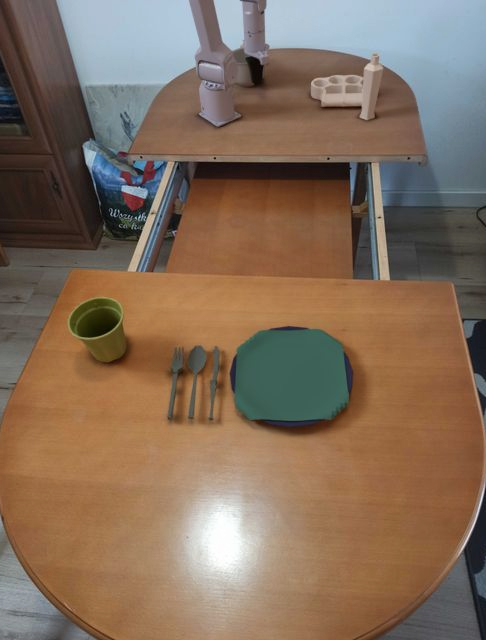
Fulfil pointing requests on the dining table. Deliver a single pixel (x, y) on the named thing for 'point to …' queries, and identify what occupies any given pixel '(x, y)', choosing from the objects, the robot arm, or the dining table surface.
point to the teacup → (243, 68)
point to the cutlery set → (279, 376)
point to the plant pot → (99, 327)
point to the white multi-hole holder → (338, 90)
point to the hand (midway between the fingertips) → (256, 82)
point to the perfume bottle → (371, 86)
